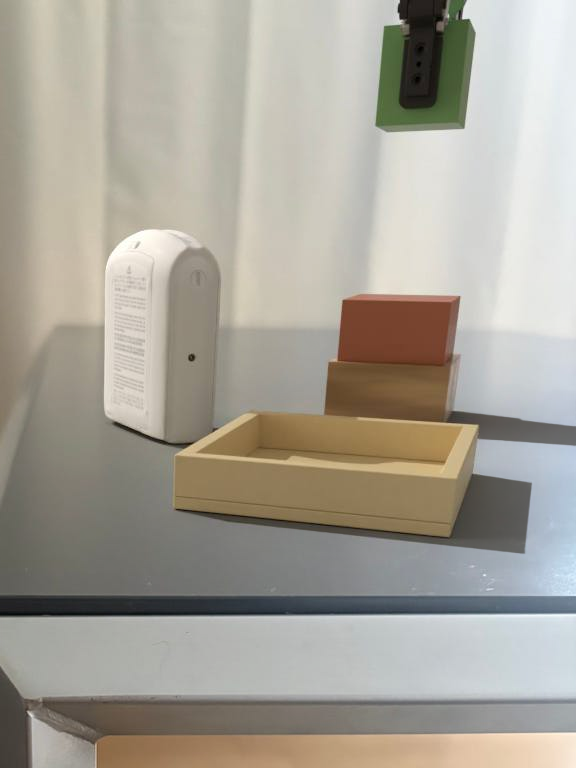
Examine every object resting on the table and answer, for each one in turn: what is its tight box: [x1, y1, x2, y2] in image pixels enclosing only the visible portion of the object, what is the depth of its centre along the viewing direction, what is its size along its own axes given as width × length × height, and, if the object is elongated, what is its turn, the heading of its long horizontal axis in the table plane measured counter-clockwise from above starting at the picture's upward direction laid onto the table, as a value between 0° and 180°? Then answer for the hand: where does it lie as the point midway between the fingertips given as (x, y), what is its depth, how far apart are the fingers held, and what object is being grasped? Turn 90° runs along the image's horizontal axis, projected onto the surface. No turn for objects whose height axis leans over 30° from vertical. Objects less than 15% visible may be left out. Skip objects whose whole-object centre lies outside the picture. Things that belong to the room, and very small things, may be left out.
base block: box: [323, 353, 462, 423], centre depth 71 cm, size 8×8×4 cm
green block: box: [374, 18, 477, 133], centre depth 63 cm, size 5×5×6 cm
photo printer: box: [103, 228, 222, 445], centre depth 64 cm, size 10×4×12 cm, turn 23°
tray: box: [172, 409, 480, 538], centre depth 50 cm, size 14×13×3 cm
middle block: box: [336, 293, 462, 366], centre depth 69 cm, size 7×7×4 cm
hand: (422, 111), depth 64 cm, fingers closed on green block, 5 cm apart
